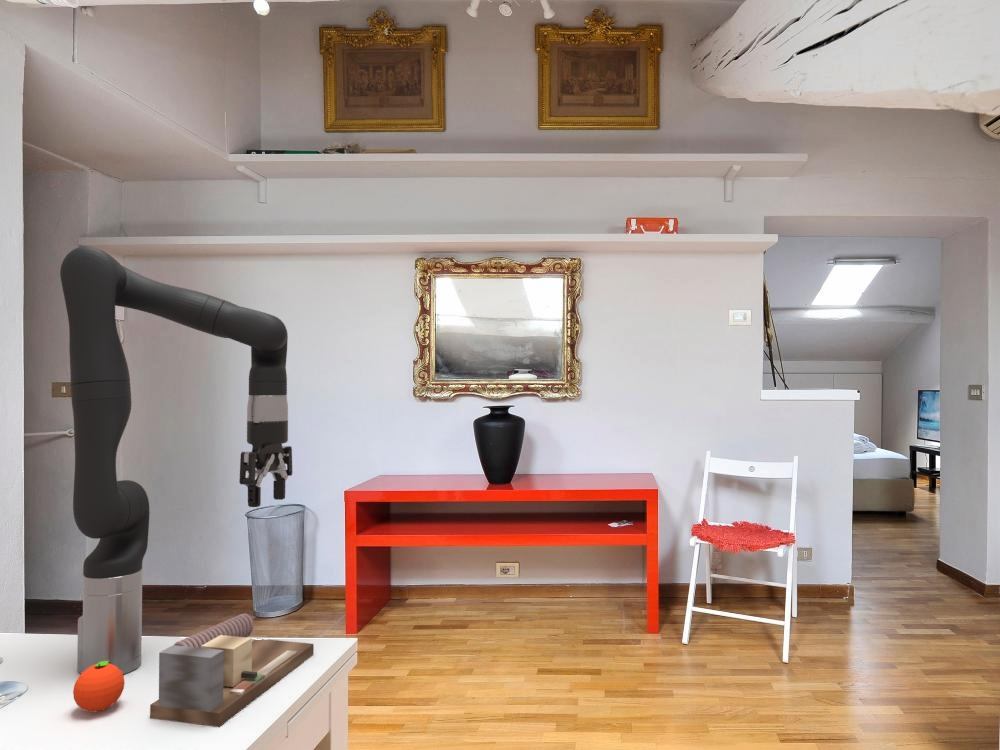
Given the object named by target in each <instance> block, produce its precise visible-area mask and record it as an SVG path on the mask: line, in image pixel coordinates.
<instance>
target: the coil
mask: <svg viewBox="0 0 1000 750" xmlns="http://www.w3.org/2000/svg"><path fill="white" fill-rule="evenodd" d="M254 628H255V627H254V621H253V618H252V616H250V614H248V613H241V614H238V615H236V616H234V617H232V618H229V619H227V620H225V621H222V622H220V623H217V624H215V625H214V626H211V627H208V628H206V629H204V630H201V631H200V632H199V631H198V632H197V633H194V634H193V635H190V636H187V637H185V638H184V639H180V640H178V641H175V643H174V644H173V645H176V646H186V647H196V648H201V646H202V645H204V644H205V643H207V642H209V641H211V640H213V639H214V638H216V637H218V636H220V635H225V636H236V637H247V638H249V637H250V636H252V633H253V630H254Z"/></svg>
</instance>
